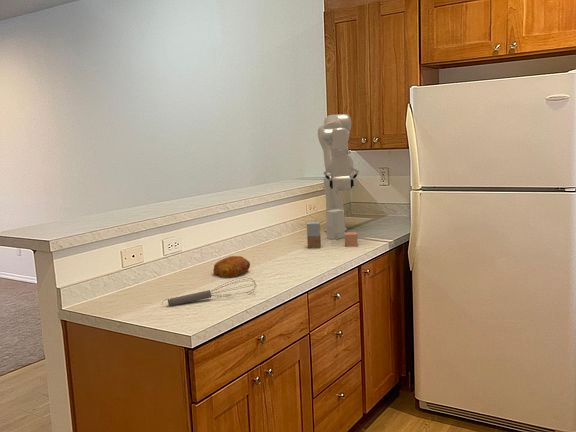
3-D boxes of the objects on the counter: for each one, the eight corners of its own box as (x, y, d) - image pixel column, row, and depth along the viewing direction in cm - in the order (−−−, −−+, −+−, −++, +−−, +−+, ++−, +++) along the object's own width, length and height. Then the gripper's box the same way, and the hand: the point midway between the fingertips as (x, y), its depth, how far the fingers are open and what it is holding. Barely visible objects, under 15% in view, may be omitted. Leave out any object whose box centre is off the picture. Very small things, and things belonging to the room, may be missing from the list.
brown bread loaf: (255, 275, 241) (256, 256, 240) (233, 279, 227) (234, 259, 227) (228, 271, 248) (228, 253, 248) (205, 275, 235) (205, 255, 234)
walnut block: (308, 245, 285) (308, 233, 284) (320, 245, 284) (320, 233, 283) (307, 248, 279) (307, 236, 278) (320, 248, 278) (319, 235, 277)
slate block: (308, 233, 284) (307, 221, 283) (320, 233, 283) (319, 221, 282) (307, 236, 278) (306, 224, 277) (319, 235, 277) (319, 223, 276)
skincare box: (337, 236, 306) (336, 208, 303) (345, 237, 301) (345, 209, 299) (326, 238, 300) (325, 210, 298) (334, 240, 296) (333, 211, 294)
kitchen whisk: (160, 305, 199) (159, 287, 198) (253, 291, 211) (253, 274, 210) (163, 310, 193) (162, 291, 192) (259, 295, 205) (258, 278, 204)
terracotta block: (345, 244, 285) (344, 232, 284) (357, 244, 284) (357, 232, 283) (345, 246, 279) (344, 234, 278) (357, 246, 278) (357, 234, 277)
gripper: (358, 152, 285) (359, 187, 287) (323, 154, 287) (324, 188, 289) (358, 152, 277) (359, 188, 279) (322, 154, 280) (323, 189, 281)
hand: (341, 188), depth 284 cm, fingers open, 9 cm apart
